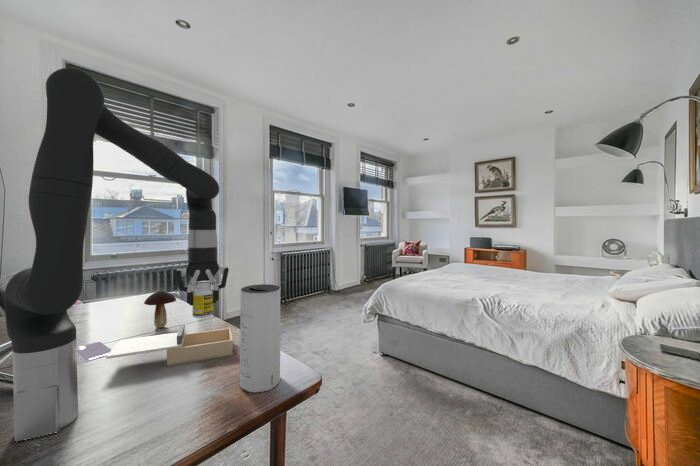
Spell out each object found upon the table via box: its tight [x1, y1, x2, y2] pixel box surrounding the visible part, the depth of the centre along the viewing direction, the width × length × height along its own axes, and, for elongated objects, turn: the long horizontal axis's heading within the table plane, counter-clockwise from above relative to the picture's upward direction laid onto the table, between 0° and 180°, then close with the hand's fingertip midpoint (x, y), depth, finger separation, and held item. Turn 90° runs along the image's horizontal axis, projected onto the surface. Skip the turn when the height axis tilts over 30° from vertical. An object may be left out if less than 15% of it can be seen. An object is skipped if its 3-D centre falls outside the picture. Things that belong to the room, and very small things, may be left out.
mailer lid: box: [105, 324, 187, 360], centre depth 88 cm, size 12×18×3 cm, turn 115°
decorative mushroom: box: [143, 290, 177, 329], centre depth 116 cm, size 11×11×15 cm
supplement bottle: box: [192, 280, 214, 319], centre depth 84 cm, size 5×5×10 cm
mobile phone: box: [77, 341, 112, 363], centre depth 95 cm, size 8×1×15 cm
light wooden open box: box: [166, 327, 234, 368], centre depth 94 cm, size 12×18×5 cm, turn 115°
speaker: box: [239, 283, 282, 394], centre depth 77 cm, size 11×10×26 cm
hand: (203, 303), depth 84 cm, fingers closed on supplement bottle, 5 cm apart
